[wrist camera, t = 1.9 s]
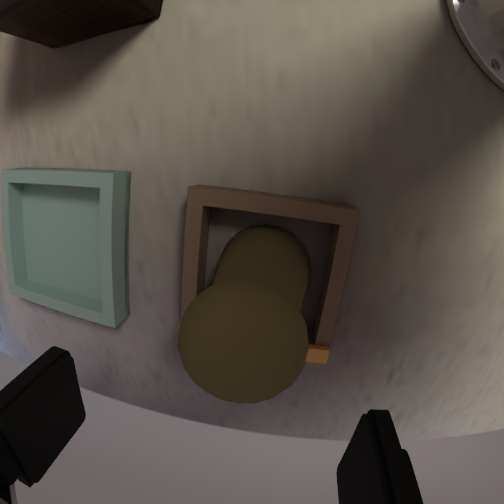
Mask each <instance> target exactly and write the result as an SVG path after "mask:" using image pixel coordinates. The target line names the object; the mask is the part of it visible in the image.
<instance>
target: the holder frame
mask: <svg viewBox="0 0 504 504" xmlns="http://www.w3.org/2000/svg"><path fill="white" fill-rule="evenodd" d="M211 207H219V208H226V209H234V210H242V211H249V212H256V213H264V214H271V215H278V216H285V217H291V218H298V219H305V220H311V221H318V222H324V223H330V224H335V226H334V232H333V237H332V243H331V249H330V254H329V259H328V265H327V270H326V275H325V280H324V285H323V290H322V294H321V299H320V304H319V308H318V313H317V317H316V322H315V326H314V331H311V330H307V334H308V345H309V350H308V353H307V357H306V360H305V362H310V363H318V364H327V360H328V357H329V353H330V343H331V339H332V336H333V332H334V328H335V324H336V320H337V316H338V312H339V308H340V304H341V299H342V295H343V291H344V286H345V282H346V277H347V273H348V268H349V263H350V258H351V254H352V249H353V243H354V238H355V233H356V228H357V222H358V216H359V210H358V209H357V208H355V207H354V206H349V205H344V204H338V203H332V202H325V201H319V200H313V199H306V198H300V197H293V196H286V195H279V194H272V193H264V192H257V191H249V190H241V189H233V188H224V187H215V186H206V185H194V186H190V187H188V194H187V206H186V220H185V234H184V250H183V269H182V293H181V320H182V318H183V316H184V313H185V311H186V309H187V307H188V306H189V305H190V303H191V302H192V301H193V300H194V299H195V298H196V297H197V296H198V295H199V294H200V293H201V292H202V291H203V290H204V285H205V270H206V257H207V245H208V233H209V221H210V210H211ZM179 326H180V324H179V325H178V332H179Z"/></svg>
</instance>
